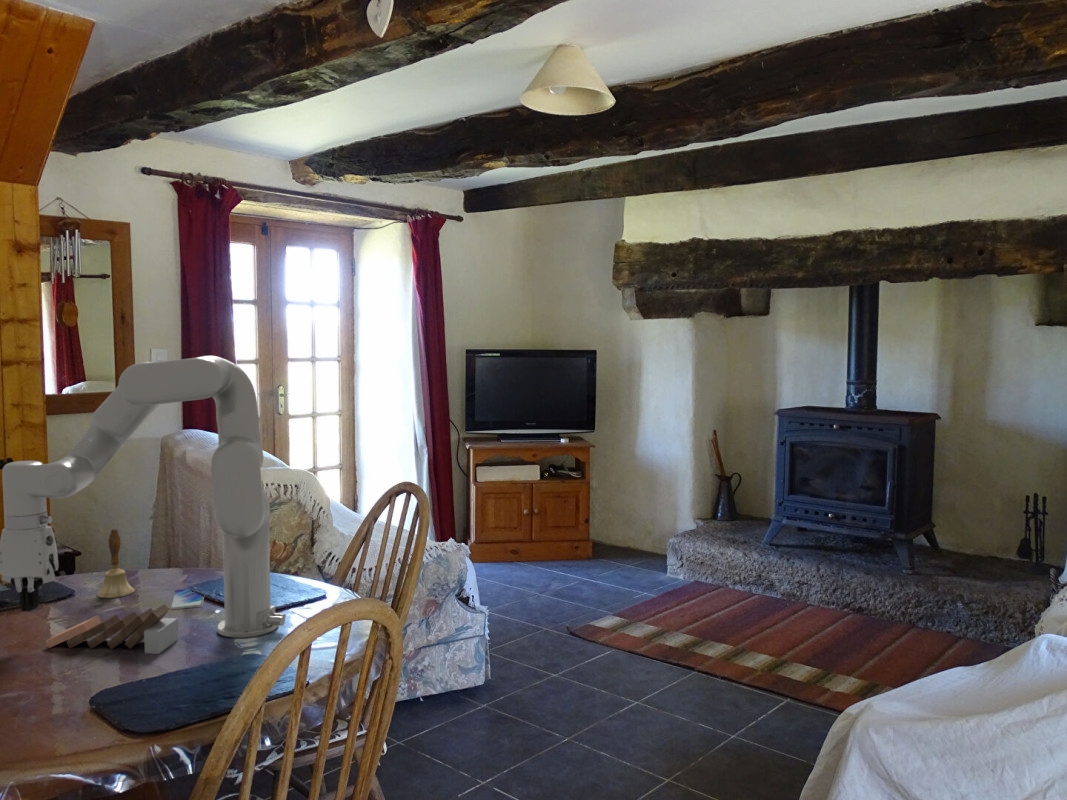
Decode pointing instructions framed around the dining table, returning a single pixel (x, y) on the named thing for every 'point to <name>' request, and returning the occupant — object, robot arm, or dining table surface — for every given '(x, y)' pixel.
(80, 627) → the domino
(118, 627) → the domino
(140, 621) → the domino
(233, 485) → the robot arm
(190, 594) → the smartphone
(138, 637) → the domino
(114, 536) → the hand bell
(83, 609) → the dining table surface
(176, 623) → the block
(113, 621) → the domino
